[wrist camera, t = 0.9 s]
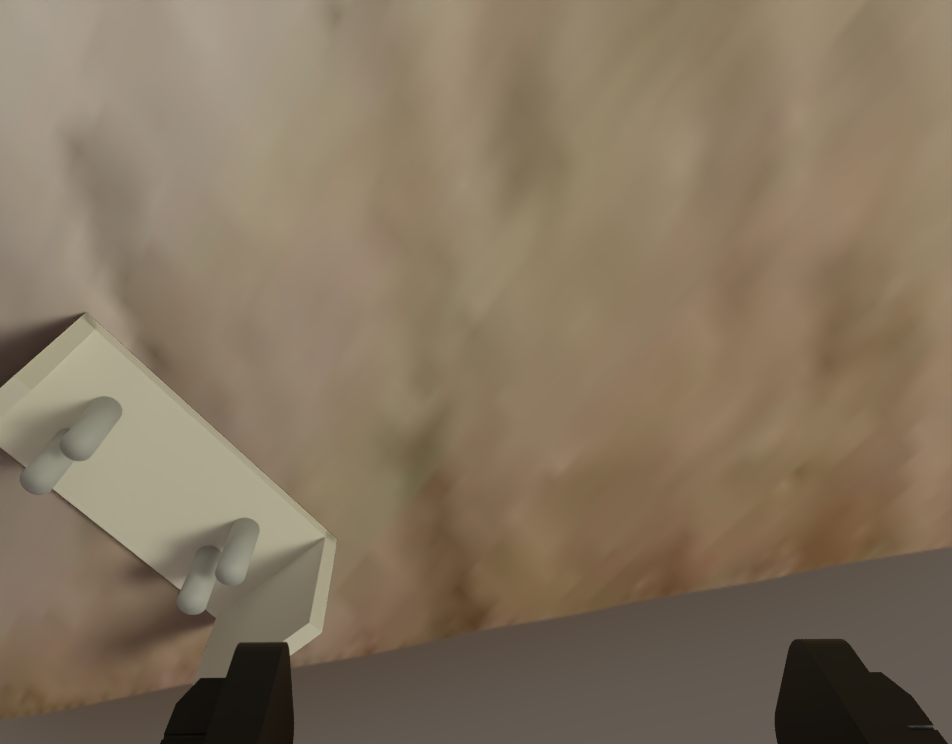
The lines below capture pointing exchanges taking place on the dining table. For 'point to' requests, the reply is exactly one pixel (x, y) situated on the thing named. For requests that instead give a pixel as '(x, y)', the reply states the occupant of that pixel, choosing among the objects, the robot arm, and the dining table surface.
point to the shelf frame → (168, 491)
